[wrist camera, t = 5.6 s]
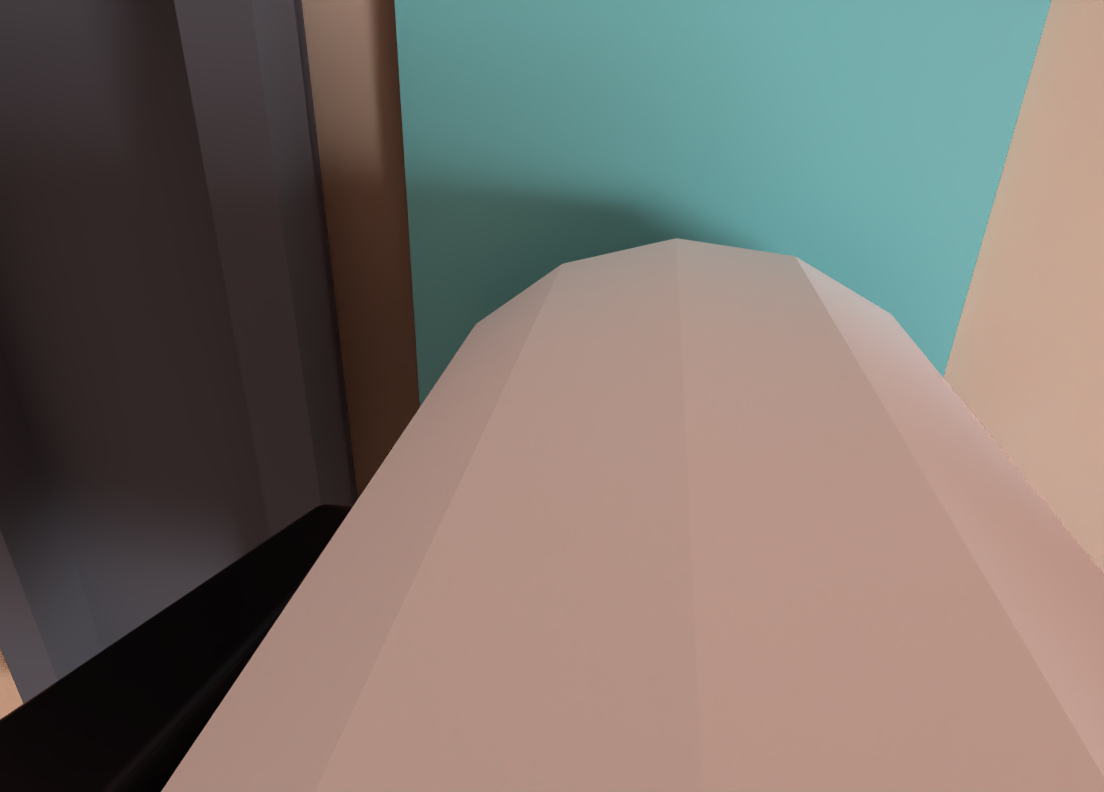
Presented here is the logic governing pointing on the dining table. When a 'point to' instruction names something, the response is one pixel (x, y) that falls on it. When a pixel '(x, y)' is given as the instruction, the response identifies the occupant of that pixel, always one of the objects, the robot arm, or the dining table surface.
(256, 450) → the trap pit
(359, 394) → the dining table surface
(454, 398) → the white cup
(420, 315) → the teal pad
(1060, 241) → the dining table surface
